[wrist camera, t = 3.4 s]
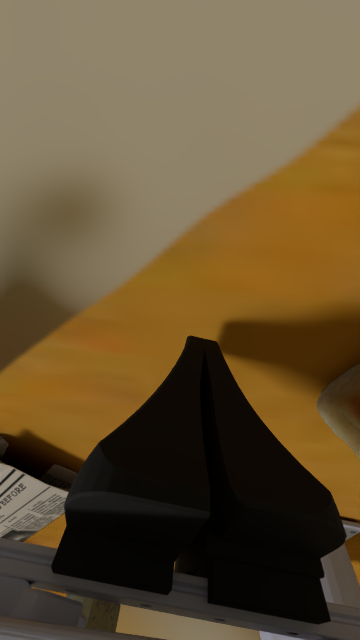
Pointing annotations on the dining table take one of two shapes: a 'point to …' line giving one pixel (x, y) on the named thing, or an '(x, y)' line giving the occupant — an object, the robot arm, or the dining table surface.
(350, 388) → the pastry
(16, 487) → the newspaper
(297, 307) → the dining table surface
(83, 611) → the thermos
